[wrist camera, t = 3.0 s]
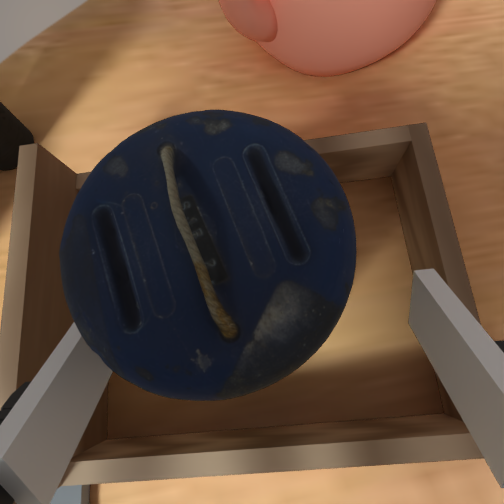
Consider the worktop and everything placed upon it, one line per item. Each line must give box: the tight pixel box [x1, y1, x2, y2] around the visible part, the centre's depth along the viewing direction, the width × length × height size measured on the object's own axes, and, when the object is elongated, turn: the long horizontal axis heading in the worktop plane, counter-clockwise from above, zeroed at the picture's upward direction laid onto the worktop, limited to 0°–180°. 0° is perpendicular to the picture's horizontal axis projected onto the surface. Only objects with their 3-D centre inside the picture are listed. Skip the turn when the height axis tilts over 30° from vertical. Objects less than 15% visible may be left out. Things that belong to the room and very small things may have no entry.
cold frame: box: [0, 123, 484, 504], centre depth 22 cm, size 26×20×9 cm
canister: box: [59, 110, 356, 401], centre depth 17 cm, size 10×10×18 cm
